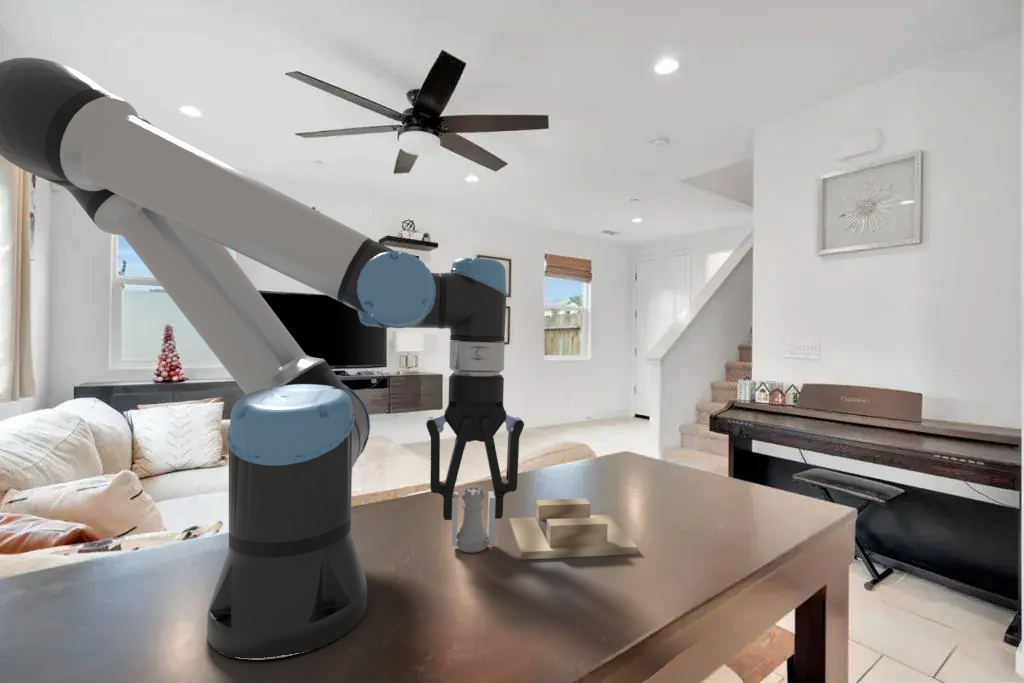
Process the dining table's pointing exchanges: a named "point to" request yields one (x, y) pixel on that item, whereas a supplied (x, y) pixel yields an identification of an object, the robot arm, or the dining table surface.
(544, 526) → the birch mount
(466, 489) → the rook chess piece
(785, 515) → the dining table surface
